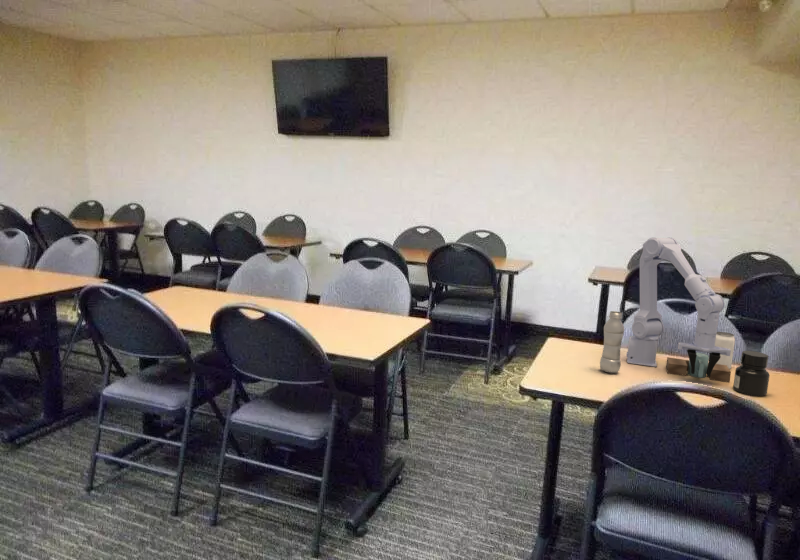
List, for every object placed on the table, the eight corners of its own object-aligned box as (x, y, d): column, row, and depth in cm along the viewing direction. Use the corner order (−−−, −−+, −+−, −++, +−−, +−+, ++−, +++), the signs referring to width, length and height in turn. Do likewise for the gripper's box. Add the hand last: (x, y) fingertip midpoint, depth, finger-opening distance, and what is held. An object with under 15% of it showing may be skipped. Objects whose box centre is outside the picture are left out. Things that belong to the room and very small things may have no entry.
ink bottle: (740, 384, 180) (746, 348, 178) (771, 393, 173) (777, 355, 171) (727, 390, 174) (732, 352, 172) (758, 399, 167) (764, 359, 166)
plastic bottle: (620, 371, 188) (627, 311, 185) (619, 376, 182) (625, 315, 179) (600, 367, 191) (606, 309, 188) (597, 373, 185) (604, 312, 182)
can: (733, 370, 195) (738, 336, 193) (713, 368, 196) (718, 335, 195) (727, 365, 202) (731, 332, 200) (707, 363, 203) (711, 330, 201)
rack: (667, 373, 188) (668, 363, 188) (665, 367, 196) (667, 357, 195) (729, 382, 182) (730, 372, 181) (725, 375, 189) (726, 365, 189)
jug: (689, 380, 182) (692, 359, 181) (686, 371, 192) (689, 351, 191) (709, 383, 180) (712, 362, 179) (705, 374, 190) (707, 353, 189)
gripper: (681, 332, 178) (676, 374, 180) (734, 338, 173) (728, 381, 175) (679, 327, 184) (674, 368, 186) (730, 333, 179) (724, 375, 181)
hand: (700, 374), depth 181 cm, fingers open, 4 cm apart
